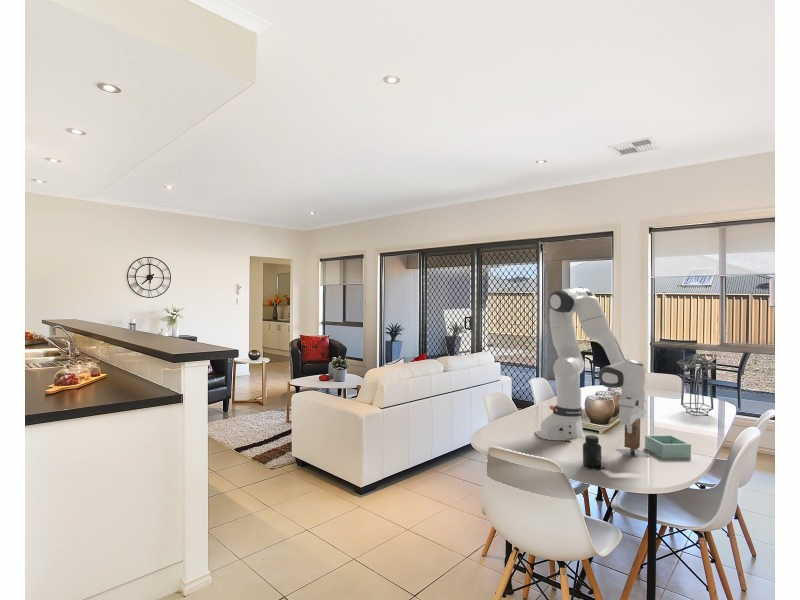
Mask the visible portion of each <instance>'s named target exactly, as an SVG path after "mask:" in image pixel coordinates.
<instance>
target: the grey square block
mask: <svg viewBox="0 0 800 600" xmlns="http://www.w3.org/2000/svg"><path fill="white" fill-rule="evenodd" d="M615 451H616V452H619V453H620V454H622V455H623V456H625V457H626V458H633V459H634V458H651V456H650V455H648V454H647V453H645V452H644V451H642V450H640V449H639V448H638V449H631V448H615Z"/></svg>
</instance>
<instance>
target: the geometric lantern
mask: <svg viewBox="0 0 800 600" xmlns="http://www.w3.org/2000/svg"><path fill="white" fill-rule="evenodd" d="M675 362H676V364H678V366H679V367H680V368H681V370H683V375H681V376H682V379H681V381H682V382H681V394H680V395H681V398H680V405H681V406H682V407H683V408H684V409H685V412H686V413H688V415H689V414H690V415H692V416H695V417H696V416H698V417H699V416H700V417H701V416H702V417H703V416H704V417H706V416H709V413H710V412H711V411H712V410H714V407H715V406H714V397H713V396H714V395H713V394H714V393H713V381H712V377H711V376H712V371H711V370H713V369H714V368H715V367H717V366H718V364H716V363H715V362H713V361H710V359H708V358H705V357H703V356H702V355H700V354H697V353H695V354H692V355H690V356H687V357H684V358H682V359H680V360H678V361H675ZM701 363H702V366H701ZM697 364H698V365H697ZM689 368H690V369H694V370H695V371H696V375H695V377H693V378H692V377H691V376H692V374H690V373H689V371H688V370H689ZM702 368H705V369H704V370H702ZM708 371H709V373H708ZM701 373H702V374H701ZM705 373H706V375H707V376H706V375H704V374H705ZM686 378H687V379H690V383H689V384H690V387H689V389H690V390H689V391H690V392H689V393H690V395H689V402H684V396H685V395H684V394H685V383H686V381H685V380H686ZM696 379H697V392H696ZM692 380H693V381H692ZM700 380H701V393H702V402H699V398H700V397H699V395H700V393H699V392H700V388H699V387H700ZM704 380H708V385H709V395H710V396H709V397H710V405H708V404H705V401H704V400H705V399H704V398H705V397H704ZM692 382H693V385H692ZM692 387H693V388H694V402H692ZM687 405H689V406H687ZM692 405H695V406H694V407H693V408H692ZM699 405H700V407H699ZM703 405H704V406H706V407H708V408H702V407H703ZM698 413H701V414H698Z"/></svg>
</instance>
